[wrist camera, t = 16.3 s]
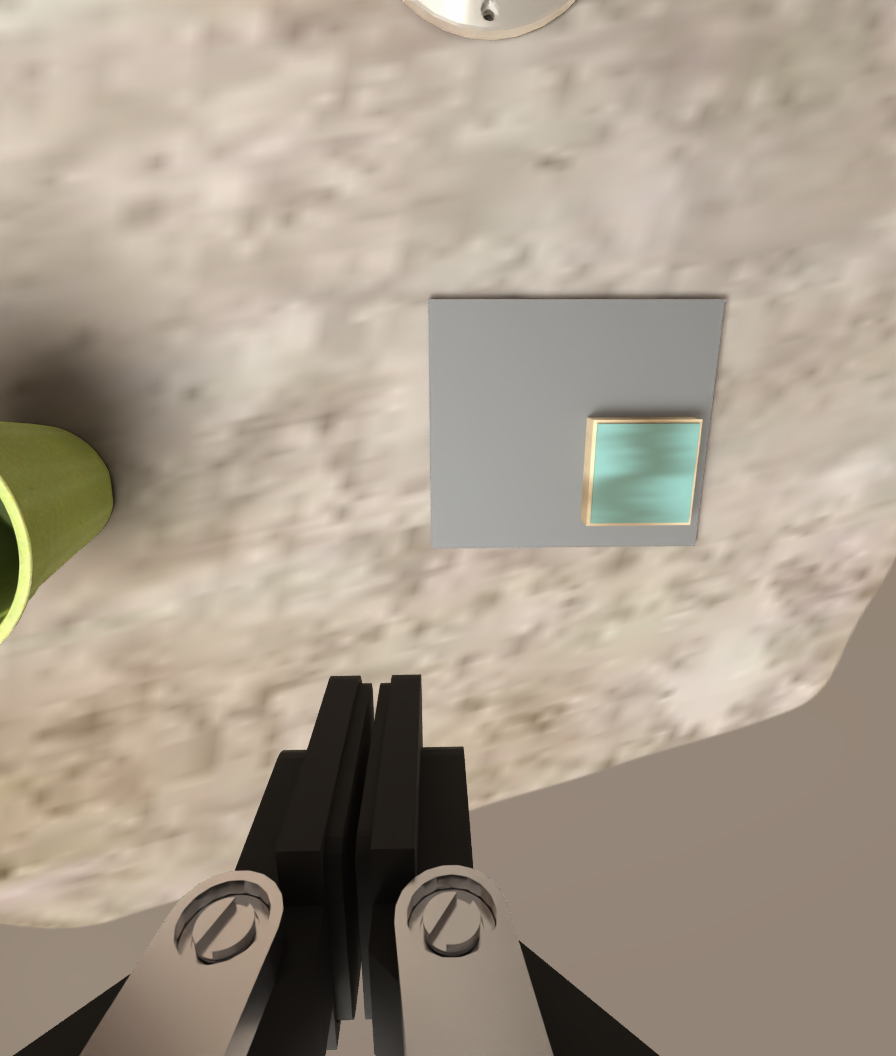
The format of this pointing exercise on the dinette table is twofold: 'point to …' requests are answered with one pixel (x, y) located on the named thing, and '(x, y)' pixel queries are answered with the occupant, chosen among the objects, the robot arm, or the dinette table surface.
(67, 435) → the plant pot
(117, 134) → the dinette table surface
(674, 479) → the tile
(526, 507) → the mat
